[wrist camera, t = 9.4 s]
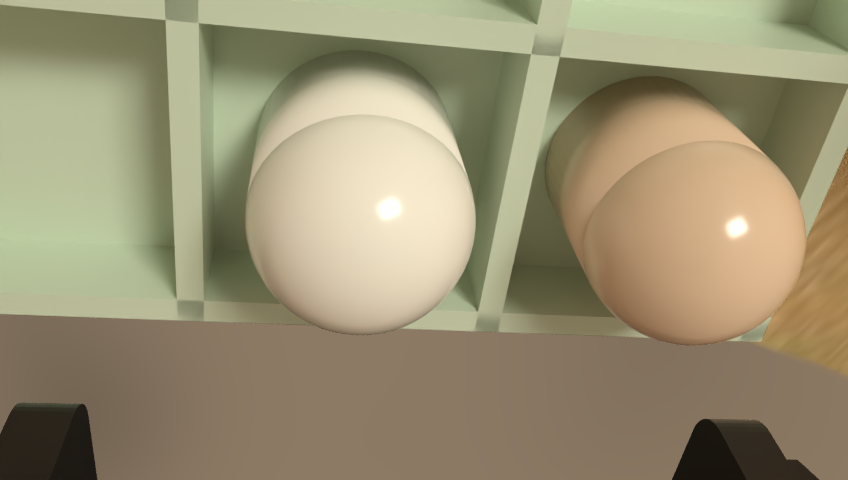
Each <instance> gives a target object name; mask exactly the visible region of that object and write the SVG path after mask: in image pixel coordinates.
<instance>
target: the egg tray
mask: <svg viewBox="0 0 848 480" xmlns="http://www.w3.org/2000/svg"><path fill="white" fill-rule="evenodd" d="M349 50H358V51H370V52H376V53H380V54H384V55H387V56H390V57H393V58H395V59H397V60H400V61H402V62H404V63H405V64H407V65H409V66H410V67H412V68H414V69H415V70H416V71H417V72H419V73H420V74H421V75H422V76H423V77H424V78H425V79H426V80H427V81H428V82H429V83H430V84H431V85H432V86H433V88H434V89H435V91H436V92H437V93H438V95H439V97H440V98H441V100H442V102H443V104H444V106H445V109H446V112H447V115H448V118H449V121H450V124H451V127H452V130H453V133H454V136H455V139H456V142H457V145H458V149H459V152H460V155H461V158H462V161H463V164H464V167H465V170H466V173H467V176H468V179H469V182H470V185H471V188H472V194H473V199H474V204H475V212H476V227H475V237H474V243H473V247H472V251H471V255H470V257H469V260H468V263H467V265H466V268H465V270H464V272H463V274H462V276H461V277H460V279H459V281H458V282H457V284H456V285H455V287H454V288H453V289H452V291H451V292H450V293H449V294H448V296H447V297H446V298H445V299H444V300H443V301H442V302H441V303H440V304H439V305H438V306H437V307H435V308H434V309H433V310H432V311H430V312H429V313H428V314H426V315H425V316H423V317H422V318H420V319H418V320H417V321H415V322H413V323H411V324H409V325H407V326H405V327H402V328H399V329H425V330H452V331H478V332H505V333H506V332H507V333H532V334H562V335H587V336H615V337H616V336H617V337H642V338H649V337H647V336H645V335H643V334H640V333H639V332H637V331H635V330H633V329H631V328H630V327H628V326H627V325H626V324H624V323H623V322H621V321H620V320H619V319H617V318H616V317H615V316H614V315H613V314H612V313H611V312H610V311H609V310H608V309H607V308H606V307H605V306H604V305H603V304H602V302H601V301H600V299H599V298H598V297H597V295H596V293H595V292H594V290H593V289H592V287H591V285H590V283H589V281H588V279H587V276H586V274H585V272H584V270H583V268H582V266H581V264H580V262H579V260H578V258H577V256H576V254H575V252H574V249H573V247H572V245H571V243H570V241H569V239H568V237H567V235H566V233H565V231H564V229H563V227H562V224H561V222H560V220H559V218H558V216H557V214H556V212H555V210H554V208H553V206H552V204H551V202H550V200H549V197H548V194H547V190H546V186H545V162H546V156H547V153H548V149H549V146H550V144H551V142H552V139H553V137H554V135H555V133H556V132H557V130H558V128H559V127H560V125H561V124H562V122H563V121H564V120H565V118H566V117H567V116H568V115H569V114H570V113H571V112H572V111H573V110H574V109H575V107H576V106H578V105H579V104H580V103H581V102H582V101H584V100H585V99H586V98H587V97H589V96H590V95H592V94H594V93H595V92H597V91H598V90H600V89H602V88H604V87H606V86H608V85H611V84H613V83H616V82H619V81H622V80H626V79H630V78H634V77H643V76H660V77H666V78H672V79H675V80H678V81H681V82H683V83H686V84H688V85H690V86H692V87H693V88H695V89H696V90H697V91H699V92H700V93H701V94H702V95H703V96H704V97H705V98H707V99H708V100H709V101H710V102H711V103H712V104H713V105H714V106H715V107H716V108H717V109H718V110H719V111H720V112H721V113H722V114H723V115H724V116H725V117H726V118H728V119H729V120H730V121H731V122H732V123H733V124H734V125H735V126H736V127H737V128H738V129H739V130H740V131H741V132H742V133H743V134H744V135H745V136H746V137H747V138H749V139H750V140H751V141H752V142H753V143H754V144H755V145H756V146H757V147H758V148H759V149H760V150H761V151H762V152H763V153H764V154H765V155H766V156H767V157H769V158H770V159H771V160H772V161H773V162H774V163H775V164H776V165H777V166H778V167H779V169H780V170H781V171H782V172H783V173H784V175H785V176H786V177H787V179H788V180H789V181H790V183H791V185H792V187H793V189H794V190H795V192H796V195H797V197H798V199H799V201H800V204H801V208H802V212H803V215H804V219H805V226H806V239H807V237H808V235H809V232H810V230H811V228H812V226H813V223H814V221H815V219H816V217H817V214H818V212H819V210H820V208H821V205H822V203H823V201H824V199H825V196H826V194H827V192H828V190H829V187H830V185H831V183H832V181H833V178H834V176H835V174H836V172H837V170H838V167H839V165H840V163H841V161H842V158H843V156H844V154H845V152H846V149H847V147H848V0H0V314H15V315H42V316H70V317H97V318H124V319H152V320H178V321H181V320H182V321H206V322H233V323H260V324H261V323H262V324H287V325H313V324H310V323H308V322H306V321H305V320H303V319H301V318H299V317H298V316H296V315H295V314H293V313H292V312H291V311H289V310H288V309H287V308H286V307H285V306H283V305H282V304H281V303H280V302H279V301H278V300H277V299H276V298H275V297H274V296H273V294H272V293H271V292H270V291H269V289H268V288H267V287H266V285H265V284H264V282H263V280H262V279H261V277H260V275H259V273H258V272H257V270H256V268H255V266H254V263H253V260H252V258H251V255H250V251H249V247H248V242H247V238H246V230H245V211H246V200H247V194H248V188H249V182H250V176H251V170H252V164H253V158H254V152H255V146H256V140H257V134H258V128H259V123H260V119H261V115H262V112H263V109H264V107H265V104H266V102H267V100H268V99H269V97H270V95H271V94H272V92H273V91H274V89H275V88H276V87H277V86H278V84H279V83H280V82H281V81H282V80H283V79H284V78H285V77H286V76H287V75H288V74H289V73H291V72H292V71H293V70H295V69H296V68H297V67H299V66H300V65H302V64H304V63H306V62H308V61H310V60H312V59H314V58H317V57H319V56H322V55H325V54H329V53H334V52H339V51H349ZM771 317H772V316H771ZM771 317H769V318H768V319H767V320H766V321H764V322H763V323H762V324H760V325H759V326H757V327H756V328H754V329H752V330H751V331H749V332H747V333H745V334H743V335H741V336H738V337H736V338H734V339H730V340H727V341H750V342H761V340H762V338H763V335H764V333H765V331H766V329H767V326H768V324H769V322H770V320H771Z"/></svg>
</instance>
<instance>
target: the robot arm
mask: <svg viewBox="0 0 848 480" xmlns="http://www.w3.org/2000/svg"><path fill="white" fill-rule="evenodd" d="M0 480H97V474H96V467H95V460H94V453H93V446H92V439H91V432H90V424H89V417H88V411H87V408H86V406H85V405H84V404H56V403H18V404H17V405H16V406H14V408H13V409H12V411H11V413H10V414H9V416H8V419H7V421H6V423H5V425H4V427H3V430H2V432H1V434H0ZM672 480H819V479H818V478H817V477H816V476H814V475H813V474H812V473H811V472H810V471H809V470H808V469H807V468H806V467H805V466H804V465H802V464H801V463H800V462H799V461H798V460H786V458H785V457H784V455H783V453H782V451H781V450H780V448H779V447H778V445H777V443H776V442H775V440H774V439H773V437H772V435H771V434H770V432H769V431H768V429H767V428H766V427H765V426H764V425H763V424H762V423H761V422H759V421H756V420H725V419H703V420H701V421H699V422H698V423H697V424H696V426H695V428H694V430H693V432H692V434H691V437H690V439H689V441H688V444H687V446H686V448H685V451H684V453H683V455H682V458H681V460H680V462H679V465H678V467H677V469H676V472H675V474H674V476H673V478H672Z"/></svg>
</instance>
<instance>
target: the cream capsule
mask: <svg viewBox="0 0 848 480" xmlns="http://www.w3.org/2000/svg"><path fill="white" fill-rule="evenodd" d="M475 227H476V212H475V204H474V199H473V194H472V188H471V185H470V182H469V179H468V176H467V173H466V170H465V167H464V164H463V161H462V158H461V155H460V152H459V149H458V145H457V142H456V139H455V136H454V133H453V130H452V127H451V124H450V121H449V118H448V115H447V112H446V109H445V106H444V104H443V102H442V100H441V98H440V97H439V95H438V93H437V92H436V91H435V89H434V88H433V86H432V85H431V84H430V83H429V82H428V81H427V80H426V79H425V78H424V77H423V76H422V75H421V74H420V73H419V72H417V71H416V70H415V69H414V68H412V67H410V66H409V65H407V64H405V63H404V62H402V61H400V60H397V59H395V58H393V57H390V56H387V55H384V54H380V53H376V52H370V51H358V50H349V51H339V52H334V53H329V54H325V55H322V56H319V57H317V58H314V59H312V60H310V61H308V62H306V63H304V64H302V65H300V66H299V67H297V68H296V69H295V70H293V71H292V72H291V73H289V74H288V75H287V76H286V77H285V78H284V79H283V80H282V81H281V82H280V83H279V84H278V86H277V87H276V88H275V89H274V91H273V92H272V94H271V95H270V97H269V99H268V100H267V102H266V104H265V107H264V109H263V112H262V115H261V119H260V123H259V128H258V134H257V140H256V146H255V152H254V158H253V164H252V170H251V176H250V182H249V188H248V194H247V200H246V211H245V230H246V238H247V242H248V247H249V251H250V255H251V258H252V260H253V263H254V266H255V268H256V270H257V272H258V273H259V275H260V277H261V279H262V280H263V282H264V284H265V285H266V287H267V288H268V289H269V291H270V292H271V293H272V294H273V296H274V297H275V298H276V299H277V300H278V301H279V302H280V303H281V304H282V305H283V306H285V307H286V308H287V309H288V310H289V311H291V312H292V313H293V314H295V315H296V316H298V317H299V318H301V319H303V320H305V321H306V322H308V323H310V324H313V325H315V326H318V327H320V328H322V329H325V330H329V331H332V332H336V333H342V334H350V335H372V334H380V333H385V332H389V331H393V330H396V329H399V328H402V327H405V326H407V325H409V324H411V323H413V322H415V321H417V320H418V319H420V318H422V317H423V316H425V315H426V314H428V313H429V312H430V311H432V310H433V309H434V308H435V307H437V306H438V305H439V304H440V303H441V302H442V301H443V300H444V299H445V298H446V297H447V296H448V294H449V293H450V292H451V291H452V289H453V288H454V287H455V285H456V284H457V282H458V281H459V279H460V277H461V276H462V274H463V272H464V270H465V268H466V265H467V263H468V260H469V257H470V255H471V251H472V247H473V243H474V237H475Z"/></svg>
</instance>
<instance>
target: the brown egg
mask: <svg viewBox="0 0 848 480" xmlns="http://www.w3.org/2000/svg"><path fill="white" fill-rule="evenodd" d="M545 186H546V190H547V194H548V197H549V200H550V202H551V204H552V206H553V208H554V210H555V212H556V214H557V216H558V218H559V220H560V222H561V224H562V227H563V229H564V231H565V233H566V235H567V237H568V239H569V241H570V243H571V245H572V247H573V249H574V252H575V254H576V256H577V258H578V260H579V262H580V264H581V266H582V268H583V270H584V272H585V274H586V276H587V279H588V281H589V283H590V285H591V287H592V289H593V290H594V292H595V293H596V295H597V297H598V298H599V299H600V301H601V302H602V304H603V305H604V306H605V307H606V308H607V309H608V310H609V311H610V312H611V313H612V314H613V315H614V316H615V317H616V318H617V319H619V320H620V321H621V322H623V323H624V324H626V325H627V326H628V327H630V328H631V329H633V330H635V331H637V332H639V333H640V334H643V335H645V336H647V337H649V338H652V339H655V340H658V341H662V342H666V343H671V344H676V345H686V346H695V345H708V344H715V343H719V342H724V341H727V340H730V339H734V338H736V337H738V336H741V335H743V334H745V333H747V332H749V331H751V330H752V329H754V328H756V327H757V326H759V325H760V324H762V323H763V322H764V321H766V320H767V319H768V318H769V317H771V316H772V315H773V314H774V313H775V312H776V311H777V310H778V309H779V307H780V306H781V305H782V304H783V303H784V301H785V300H786V299H787V297H788V296H789V294H790V293H791V291H792V289H793V287H794V285H795V283H796V281H797V280H798V277H799V275H800V272H801V269H802V265H803V260H804V256H805V251H806V226H805V219H804V215H803V212H802V208H801V204H800V201H799V199H798V197H797V195H796V192H795V190H794V189H793V187H792V185H791V183H790V181H789V180H788V179H787V177H786V176H785V175H784V173H783V172H782V171H781V170H780V169H779V167H778V166H777V165H776V164H775V163H774V162H773V161H772V160H771V159H770V158H769V157H767V156H766V155H765V154H764V153H763V152H762V151H761V150H760V149H759V148H758V147H757V146H756V145H755V144H754V143H753V142H752V141H751V140H750V139H749V138H747V137H746V136H745V135H744V134H743V133H742V132H741V131H740V130H739V129H738V128H737V127H736V126H735V125H734V124H733V123H732V122H731V121H730V120H729V119H728V118H726V117H725V116H724V115H723V114H722V113H721V112H720V111H719V110H718V109H717V108H716V107H715V106H714V105H713V104H712V103H711V102H710V101H709V100H708V99H707V98H705V97H704V96H703V95H702V94H701V93H700V92H699V91H697V90H696V89H695V88H693V87H692V86H690V85H688V84H686V83H683V82H681V81H678V80H675V79H672V78H666V77H660V76H643V77H634V78H630V79H626V80H622V81H619V82H616V83H613V84H611V85H608V86H606V87H604V88H602V89H600V90H598V91H597V92H595V93H594V94H592V95H590V96H589V97H587V98H586V99H585V100H584V101H582V102H581V103H580V104H579V105H578V106H576V107H575V109H574V110H573V111H572V112H571V113H570V114H569V115H568V116H567V117H566V118H565V120H564V121H563V122H562V124H561V125H560V127H559V128H558V130H557V132H556V133H555V135H554V137H553V139H552V142H551V144H550V146H549V149H548V153H547V156H546V162H545Z"/></svg>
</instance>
